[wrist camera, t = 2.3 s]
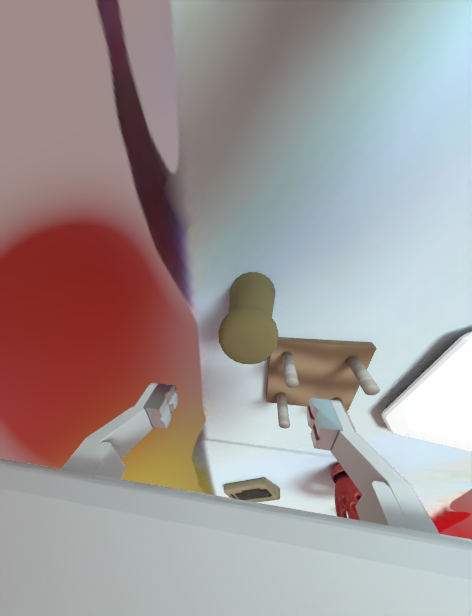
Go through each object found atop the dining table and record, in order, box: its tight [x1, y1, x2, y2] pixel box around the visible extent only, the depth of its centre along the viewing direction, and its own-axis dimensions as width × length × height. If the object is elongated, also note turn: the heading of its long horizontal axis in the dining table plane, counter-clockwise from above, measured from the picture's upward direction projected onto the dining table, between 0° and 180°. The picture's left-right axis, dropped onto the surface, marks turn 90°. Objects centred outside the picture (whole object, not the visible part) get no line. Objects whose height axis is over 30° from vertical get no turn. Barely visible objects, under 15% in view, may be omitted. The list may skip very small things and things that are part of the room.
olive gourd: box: [219, 272, 278, 364], centre depth 19 cm, size 6×6×11 cm
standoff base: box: [266, 337, 380, 433], centre depth 26 cm, size 14×14×6 cm
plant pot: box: [331, 464, 363, 520], centre depth 36 cm, size 13×13×12 cm
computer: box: [224, 477, 280, 502], centre depth 52 cm, size 16×8×3 cm, turn 130°
